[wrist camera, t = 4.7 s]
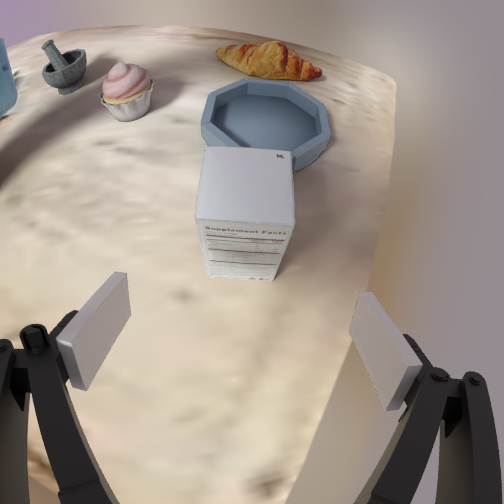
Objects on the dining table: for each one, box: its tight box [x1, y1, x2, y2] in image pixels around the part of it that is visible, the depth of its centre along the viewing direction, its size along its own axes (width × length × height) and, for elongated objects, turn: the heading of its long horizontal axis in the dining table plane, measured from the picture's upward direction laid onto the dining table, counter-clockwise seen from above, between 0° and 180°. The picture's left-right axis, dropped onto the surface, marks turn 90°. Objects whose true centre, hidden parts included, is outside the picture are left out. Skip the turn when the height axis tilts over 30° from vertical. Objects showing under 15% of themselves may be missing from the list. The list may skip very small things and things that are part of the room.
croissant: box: [216, 41, 322, 80], centre depth 48 cm, size 21×10×8 cm, turn 71°
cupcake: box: [99, 61, 155, 122], centre depth 38 cm, size 9×9×10 cm
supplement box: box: [195, 146, 295, 281], centre depth 28 cm, size 7×7×13 cm
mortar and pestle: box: [41, 40, 87, 95], centre depth 41 cm, size 11×9×12 cm
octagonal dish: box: [201, 78, 331, 172], centre depth 41 cm, size 18×18×4 cm
